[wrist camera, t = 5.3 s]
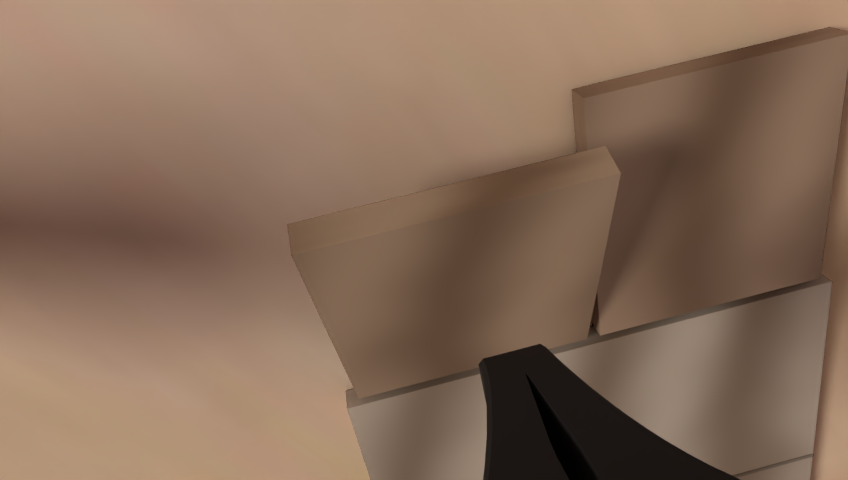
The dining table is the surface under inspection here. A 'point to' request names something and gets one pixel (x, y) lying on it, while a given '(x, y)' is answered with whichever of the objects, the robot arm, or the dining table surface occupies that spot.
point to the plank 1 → (460, 270)
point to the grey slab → (642, 392)
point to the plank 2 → (716, 175)
